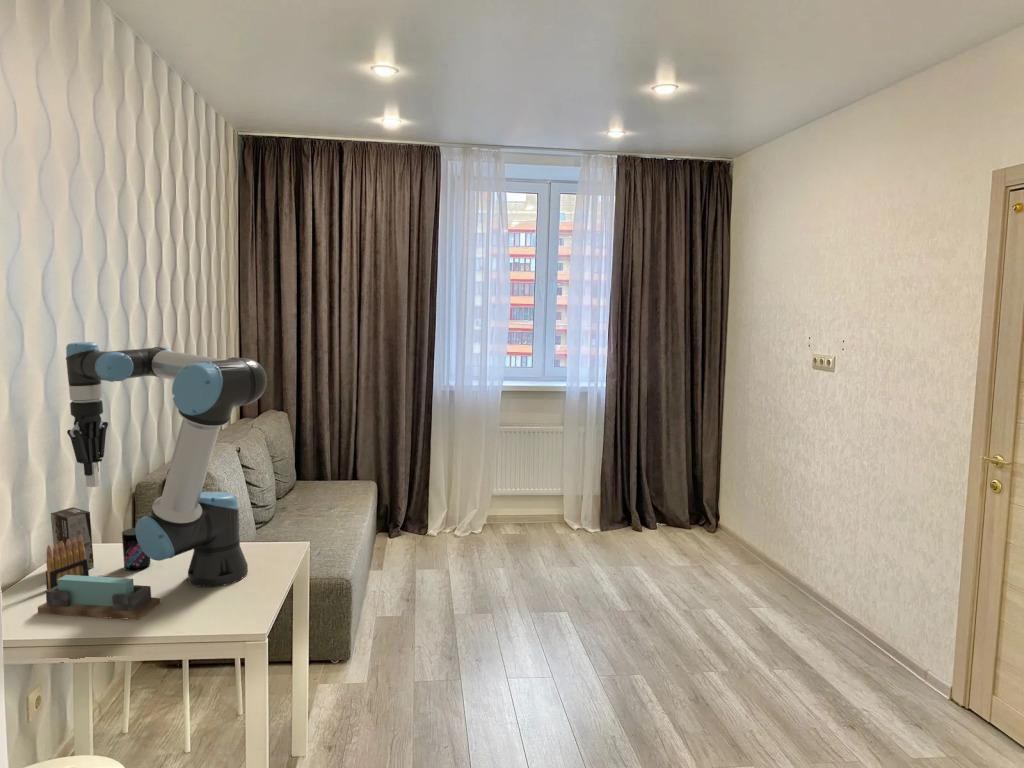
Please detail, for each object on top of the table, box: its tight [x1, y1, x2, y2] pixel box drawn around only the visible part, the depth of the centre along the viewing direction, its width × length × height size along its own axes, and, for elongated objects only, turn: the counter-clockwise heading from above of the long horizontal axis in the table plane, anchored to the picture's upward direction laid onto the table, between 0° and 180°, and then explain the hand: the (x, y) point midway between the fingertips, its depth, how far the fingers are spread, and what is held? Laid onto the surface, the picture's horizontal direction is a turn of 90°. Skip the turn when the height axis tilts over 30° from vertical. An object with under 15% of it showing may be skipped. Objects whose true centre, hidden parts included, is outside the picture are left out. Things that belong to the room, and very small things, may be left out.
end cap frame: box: [37, 584, 161, 620], centre depth 180 cm, size 26×9×5 cm, turn 82°
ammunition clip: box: [45, 535, 90, 591], centre depth 195 cm, size 11×2×12 cm, turn 157°
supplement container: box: [121, 527, 151, 572], centre depth 206 cm, size 7×7×10 cm
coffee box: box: [50, 507, 95, 570], centre depth 205 cm, size 9×6×16 cm
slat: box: [57, 575, 135, 607], centre depth 180 cm, size 18×3×6 cm, turn 82°
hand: (92, 486), depth 200 cm, fingers closed
